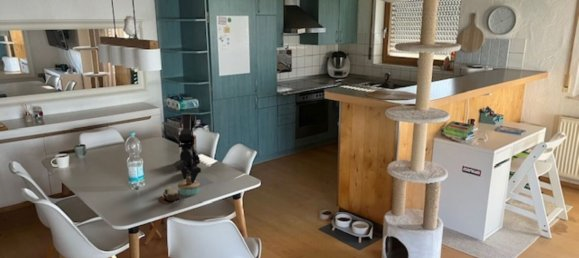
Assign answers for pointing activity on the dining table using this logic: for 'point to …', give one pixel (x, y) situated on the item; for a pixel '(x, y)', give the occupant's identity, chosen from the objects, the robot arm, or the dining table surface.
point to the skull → (169, 195)
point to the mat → (204, 181)
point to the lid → (188, 184)
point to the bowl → (189, 191)
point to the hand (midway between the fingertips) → (188, 181)
